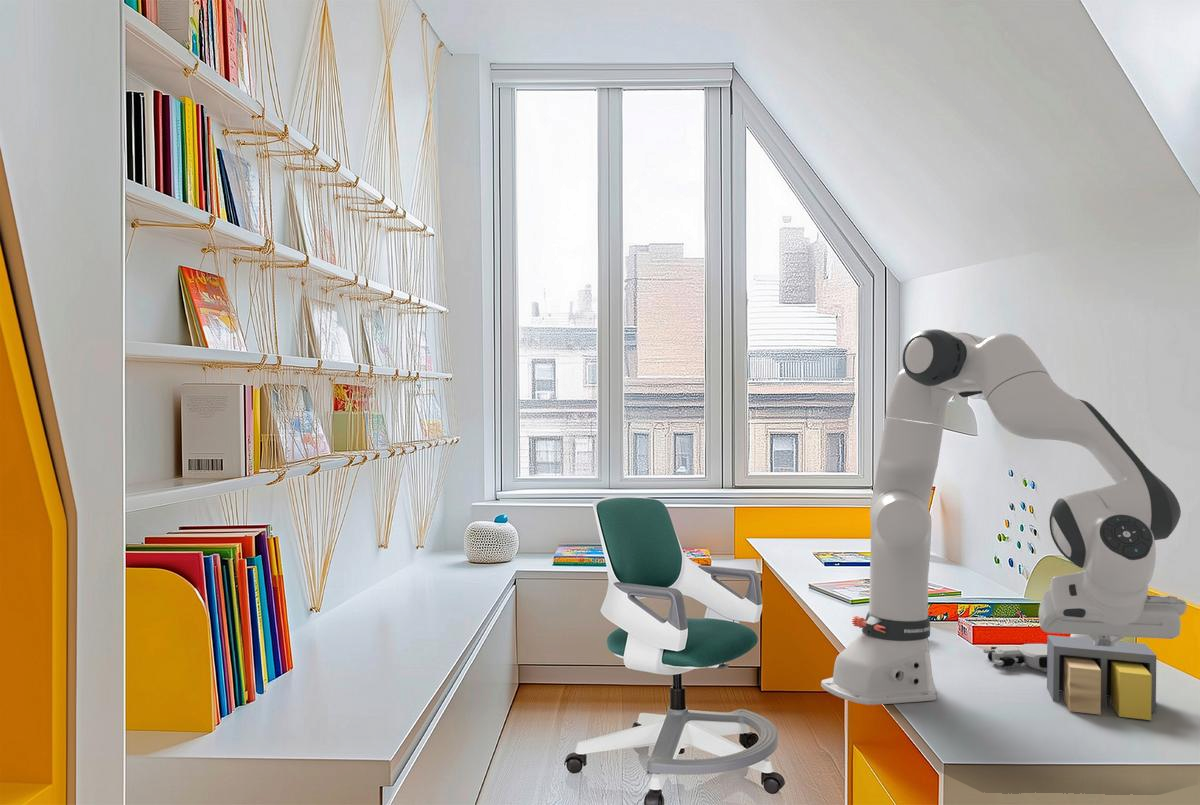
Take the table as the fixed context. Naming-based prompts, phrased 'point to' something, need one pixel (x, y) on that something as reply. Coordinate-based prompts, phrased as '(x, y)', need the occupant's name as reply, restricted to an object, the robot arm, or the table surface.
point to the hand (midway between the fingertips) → (1102, 642)
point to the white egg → (1080, 636)
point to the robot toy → (1019, 656)
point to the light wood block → (1082, 685)
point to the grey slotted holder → (1101, 656)
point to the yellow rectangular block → (1131, 690)
